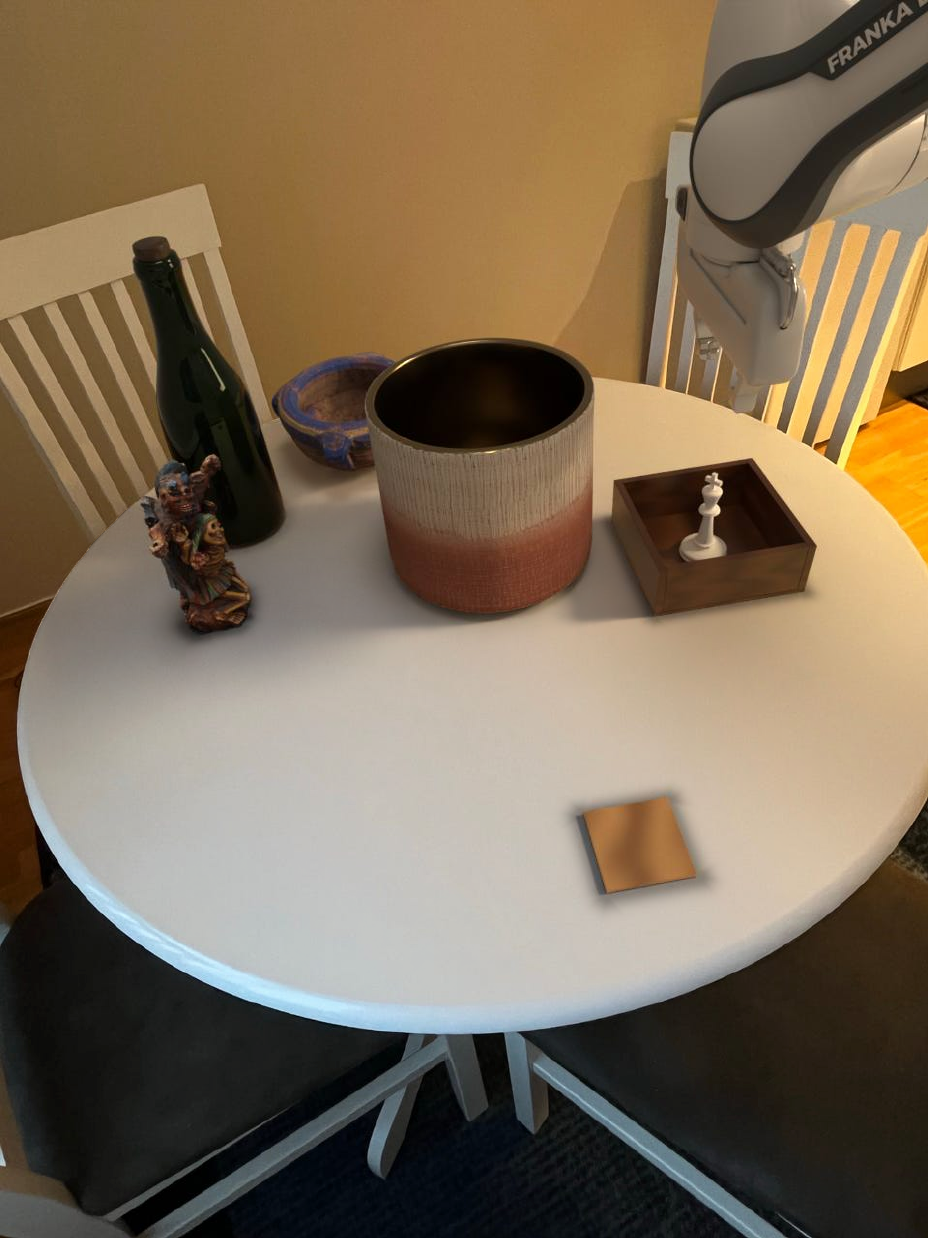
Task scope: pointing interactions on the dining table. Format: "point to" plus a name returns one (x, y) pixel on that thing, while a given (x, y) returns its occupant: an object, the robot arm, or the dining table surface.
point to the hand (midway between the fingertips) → (722, 381)
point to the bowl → (331, 410)
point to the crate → (747, 523)
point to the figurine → (195, 548)
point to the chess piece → (705, 527)
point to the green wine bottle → (206, 402)
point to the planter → (485, 471)
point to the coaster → (638, 845)
